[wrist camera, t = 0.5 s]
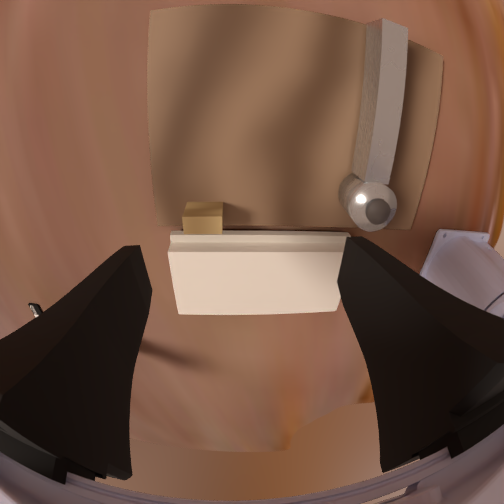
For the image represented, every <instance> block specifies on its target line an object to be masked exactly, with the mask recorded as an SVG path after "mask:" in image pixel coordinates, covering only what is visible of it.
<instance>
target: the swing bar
mask: <svg viewBox="0 0 504 504" xmlns="http://www.w3.org/2000/svg"><path fill="white" fill-rule="evenodd" d="M407 48H408V28H406V27H404V26H402V25H399V24H397V23H394V22H391V21H389V20H386V19H383V18H381V19H378V20H375V21H372V22H369V23H367V28H366V51H365V67H364V79H363V90H362V100H361V108H360V117H359V124H358V132H357V139H356V146H355V152H354V158H353V164H352V170H351V171H352V172H353V173H351V174H349V175H348V176H347V177H345V178H344V180H343V181H342V182H341V184H340V187H339V190H338V199H339V202H340V204H341V206H342V207H343V208H344V209H345V211H346V212H347V213H348V215H349V216H350V217H351V218H352V220H353V221H354V222H355V224H356V225H357V226H358V227H359V228H360V229H362V230H364V231H369V232H371V231H377V230H380V229H382V228H384V227H385V226H386V225H387V224H388V223H389V222H390V221H391V220H392V218H393V217H394V215H395V212H396V209H397V199H396V196H395V194H394V192H393V191H392V190H391V189H390V188H388V187H387V186H386V185H385V184H387V185H388V184H389V180H390V175H391V171H392V166H393V161H394V156H395V151H396V145H397V140H398V134H399V128H400V121H401V114H402V107H403V99H404V89H405V79H406V66H407ZM377 198H380V199H383V200H385V201H386V202H387V203H388V204H389V206H390V209H391V212H390V216H389V218H388V219H387V220H386V221H385V222H384V223H382V224H379V225H375V224H372V223H371V222H370V221H369V220H368V219H367V217H366V214H365V211H366V207H367V205H368V204H369V203H370V202H371V201H372V200H374V199H377Z"/></svg>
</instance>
